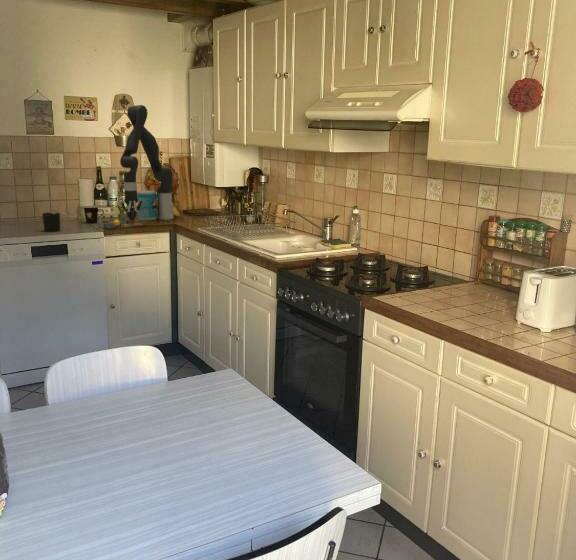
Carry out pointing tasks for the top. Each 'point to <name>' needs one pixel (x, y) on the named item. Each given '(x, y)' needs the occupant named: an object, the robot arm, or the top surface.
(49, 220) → the pen holder
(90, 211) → the coffee mug
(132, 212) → the striker
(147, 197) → the food can
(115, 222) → the ball
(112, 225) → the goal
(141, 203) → the robot arm
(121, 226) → the rail
